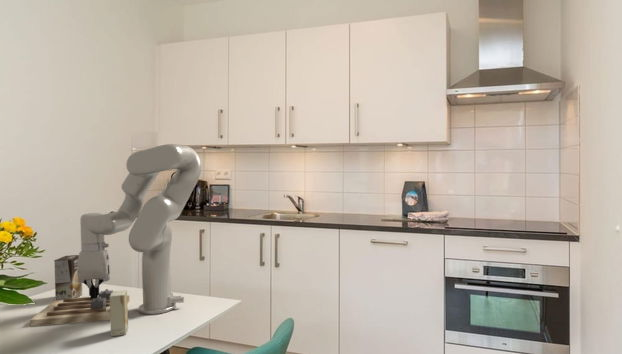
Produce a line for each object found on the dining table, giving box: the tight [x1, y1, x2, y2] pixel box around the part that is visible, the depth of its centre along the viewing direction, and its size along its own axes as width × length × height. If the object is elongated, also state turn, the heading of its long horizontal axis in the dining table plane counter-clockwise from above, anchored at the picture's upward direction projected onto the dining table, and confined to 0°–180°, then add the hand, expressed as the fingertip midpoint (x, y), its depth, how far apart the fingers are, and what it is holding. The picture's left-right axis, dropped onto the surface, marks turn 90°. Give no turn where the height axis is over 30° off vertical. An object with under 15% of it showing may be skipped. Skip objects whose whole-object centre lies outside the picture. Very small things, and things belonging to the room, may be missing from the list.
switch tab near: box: [90, 297, 106, 309], centre depth 148 cm, size 4×4×4 cm
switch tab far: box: [98, 288, 114, 300], centre depth 157 cm, size 4×4×4 cm
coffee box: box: [54, 254, 83, 301], centre depth 167 cm, size 9×6×16 cm
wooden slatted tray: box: [29, 295, 130, 327], centre depth 151 cm, size 26×20×3 cm
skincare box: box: [109, 289, 129, 337], centre depth 132 cm, size 6×4×12 cm
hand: (94, 297), depth 156 cm, fingers closed
